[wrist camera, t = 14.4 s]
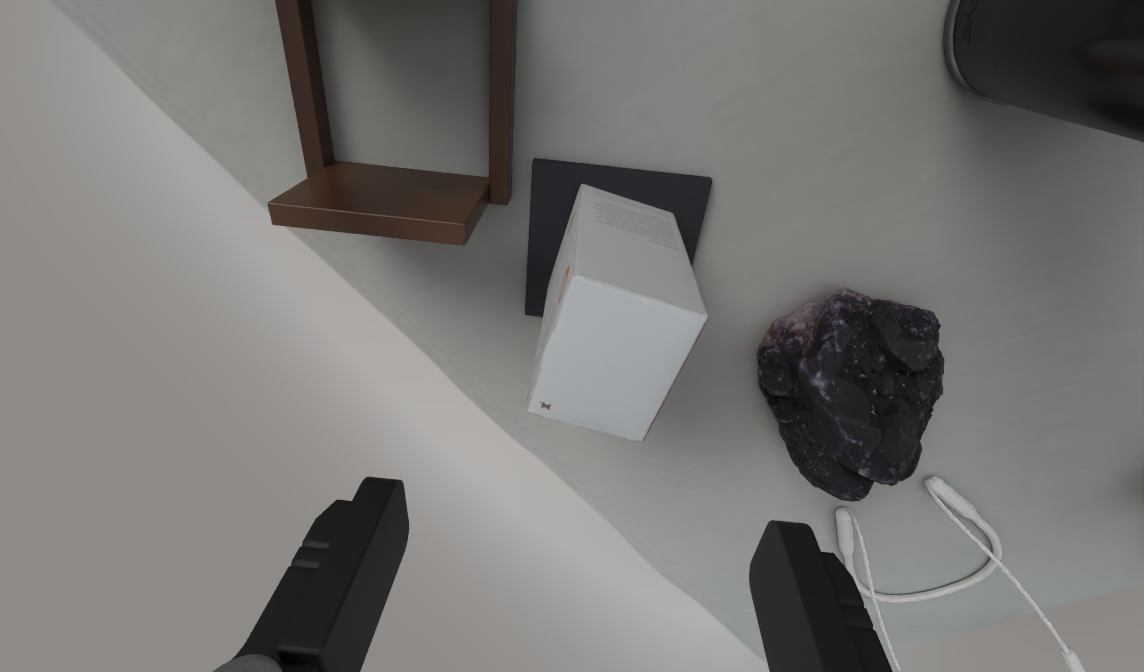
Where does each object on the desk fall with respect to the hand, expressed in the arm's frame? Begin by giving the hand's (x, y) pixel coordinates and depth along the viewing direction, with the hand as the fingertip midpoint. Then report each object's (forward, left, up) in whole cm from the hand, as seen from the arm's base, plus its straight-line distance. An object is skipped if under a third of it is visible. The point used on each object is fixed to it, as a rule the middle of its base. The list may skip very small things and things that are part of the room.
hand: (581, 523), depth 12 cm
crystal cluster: (-19, +11, -26) cm, 34 cm away
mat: (-1, +4, -25) cm, 26 cm away
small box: (-1, +4, -25) cm, 26 cm away
